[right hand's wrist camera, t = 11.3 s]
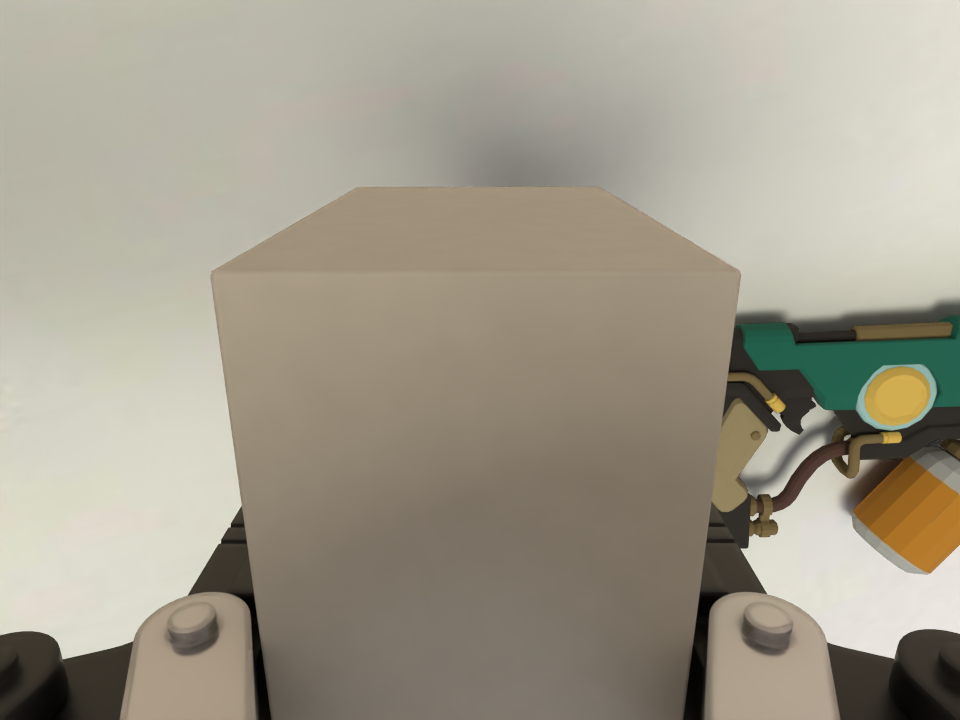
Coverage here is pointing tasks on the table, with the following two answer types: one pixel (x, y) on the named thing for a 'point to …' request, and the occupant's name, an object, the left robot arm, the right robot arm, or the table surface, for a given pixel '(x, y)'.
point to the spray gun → (852, 428)
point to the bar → (476, 452)
